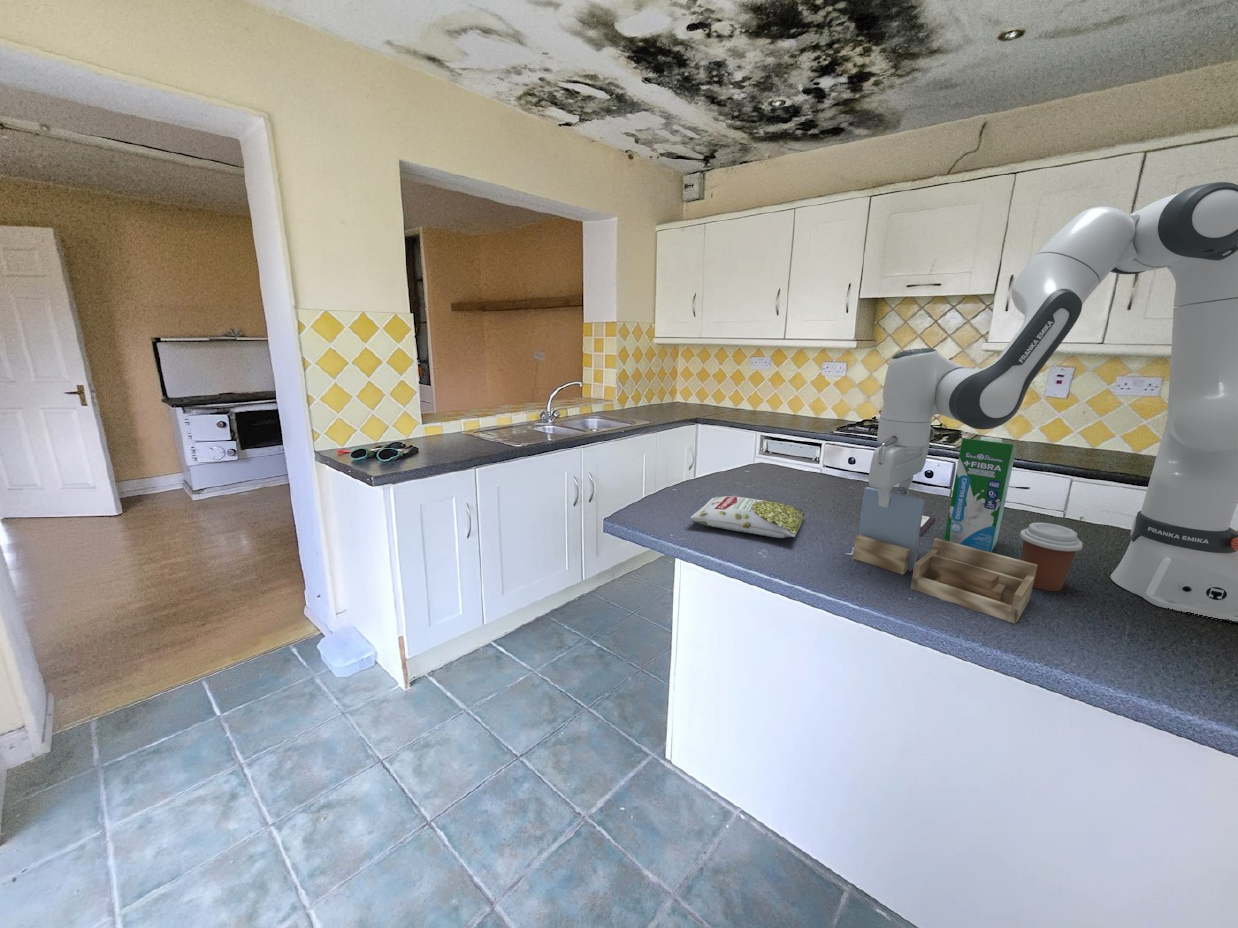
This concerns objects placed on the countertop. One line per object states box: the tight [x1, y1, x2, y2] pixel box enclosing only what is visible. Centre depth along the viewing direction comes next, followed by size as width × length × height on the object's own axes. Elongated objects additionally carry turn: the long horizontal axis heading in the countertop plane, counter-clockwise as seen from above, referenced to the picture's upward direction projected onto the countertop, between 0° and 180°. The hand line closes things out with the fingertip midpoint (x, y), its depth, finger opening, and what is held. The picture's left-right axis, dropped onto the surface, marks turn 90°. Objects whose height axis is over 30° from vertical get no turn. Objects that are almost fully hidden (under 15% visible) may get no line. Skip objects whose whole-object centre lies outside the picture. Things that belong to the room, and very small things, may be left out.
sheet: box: [857, 486, 926, 572], centre depth 105 cm, size 11×2×15 cm, turn 43°
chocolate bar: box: [919, 515, 937, 538], centre depth 129 cm, size 9×1×18 cm
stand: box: [851, 534, 920, 575], centre depth 106 cm, size 10×7×6 cm
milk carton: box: [943, 436, 1017, 553], centre depth 115 cm, size 9×9×25 cm
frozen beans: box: [689, 495, 807, 539], centre depth 128 cm, size 21×6×25 cm
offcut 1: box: [939, 559, 999, 591], centre depth 91 cm, size 8×4×2 cm, turn 40°
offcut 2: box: [940, 575, 1006, 601], centre depth 91 cm, size 9×4×2 cm, turn 45°
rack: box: [909, 537, 1038, 625], centre depth 92 cm, size 16×11×8 cm
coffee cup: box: [1019, 522, 1084, 592], centre depth 96 cm, size 9×9×12 cm
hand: (893, 500), depth 103 cm, fingers open, 8 cm apart
